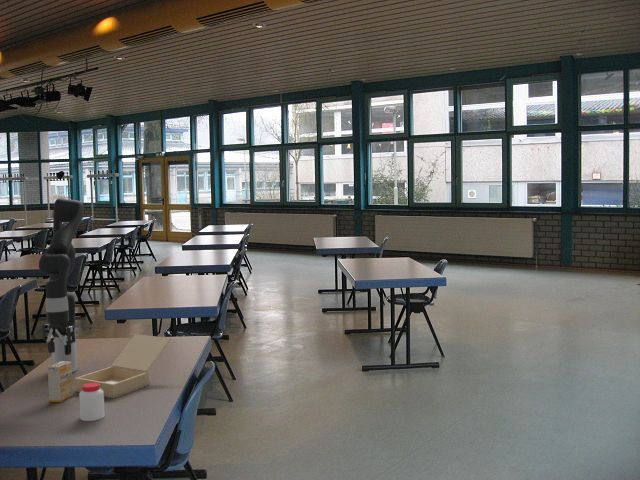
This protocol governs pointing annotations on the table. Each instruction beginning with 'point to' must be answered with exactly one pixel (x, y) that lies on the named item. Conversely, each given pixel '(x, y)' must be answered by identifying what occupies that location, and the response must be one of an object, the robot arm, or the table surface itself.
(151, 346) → the flap
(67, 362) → the supplement box
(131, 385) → the box
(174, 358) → the table surface
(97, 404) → the pill bottle
